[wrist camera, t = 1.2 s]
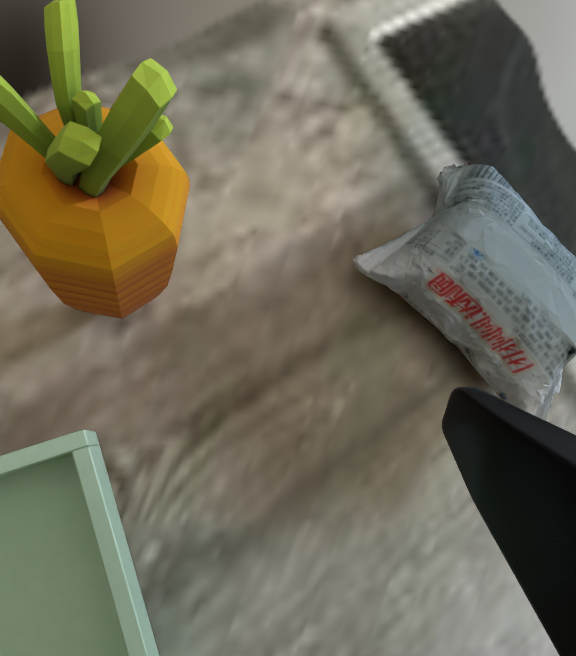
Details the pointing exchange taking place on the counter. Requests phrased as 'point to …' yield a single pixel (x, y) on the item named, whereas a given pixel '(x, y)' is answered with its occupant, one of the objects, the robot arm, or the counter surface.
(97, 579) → the mint green tray
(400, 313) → the counter surface
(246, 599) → the counter surface
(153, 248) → the carrot
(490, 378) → the packaged food
